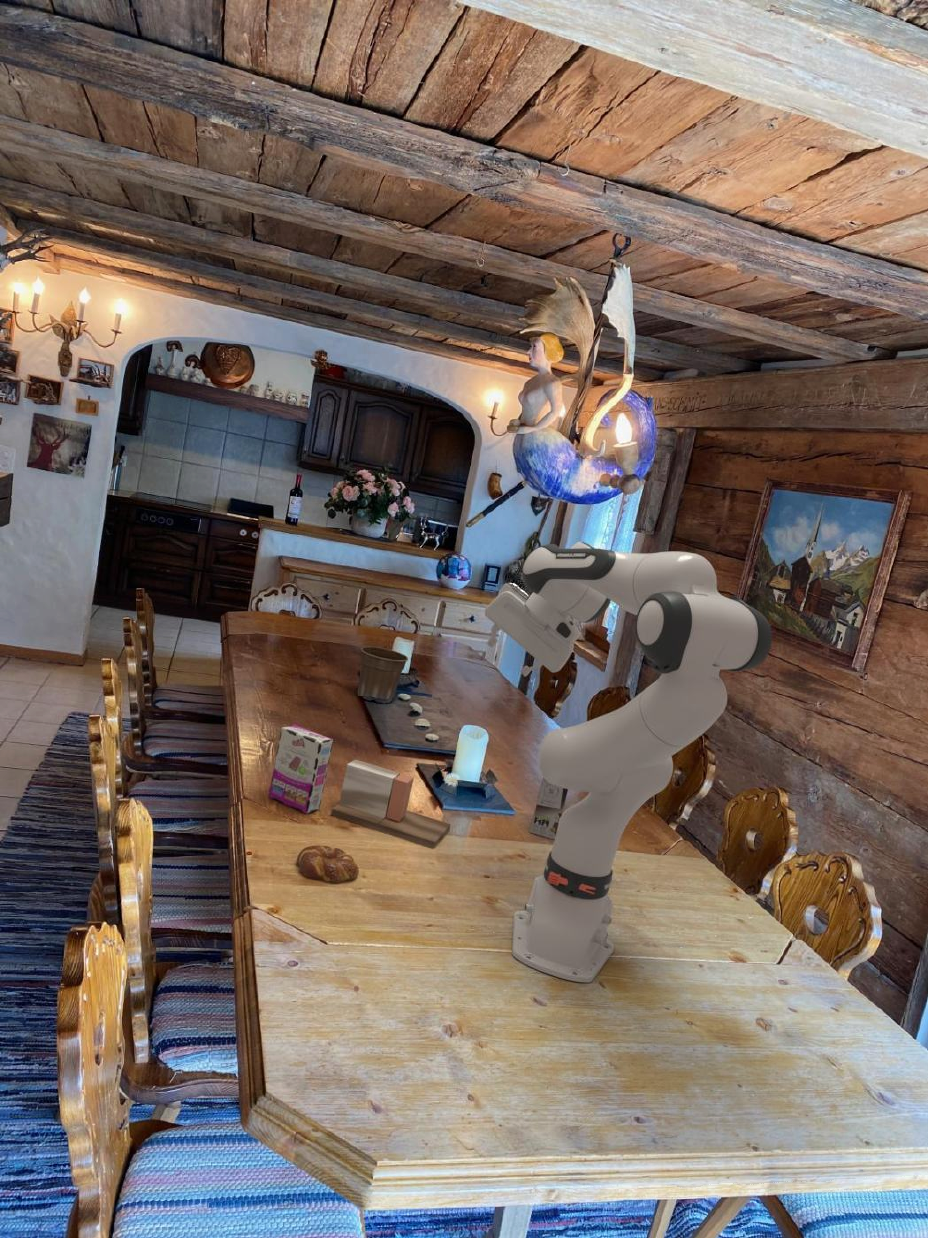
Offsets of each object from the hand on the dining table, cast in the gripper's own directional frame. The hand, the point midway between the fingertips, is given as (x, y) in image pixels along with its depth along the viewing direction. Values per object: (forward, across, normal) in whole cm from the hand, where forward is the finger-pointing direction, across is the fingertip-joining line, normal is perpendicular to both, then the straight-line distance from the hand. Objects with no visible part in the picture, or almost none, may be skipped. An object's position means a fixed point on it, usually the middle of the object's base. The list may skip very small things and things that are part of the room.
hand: (506, 659), depth 182 cm
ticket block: (+45, +2, -2) cm, 46 cm away
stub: (+43, +3, -2) cm, 43 cm away
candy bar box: (+54, -16, -9) cm, 57 cm away
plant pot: (+64, -39, +91) cm, 117 cm away
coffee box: (+32, +30, +23) cm, 50 cm away
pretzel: (+46, +3, -32) cm, 56 cm away
